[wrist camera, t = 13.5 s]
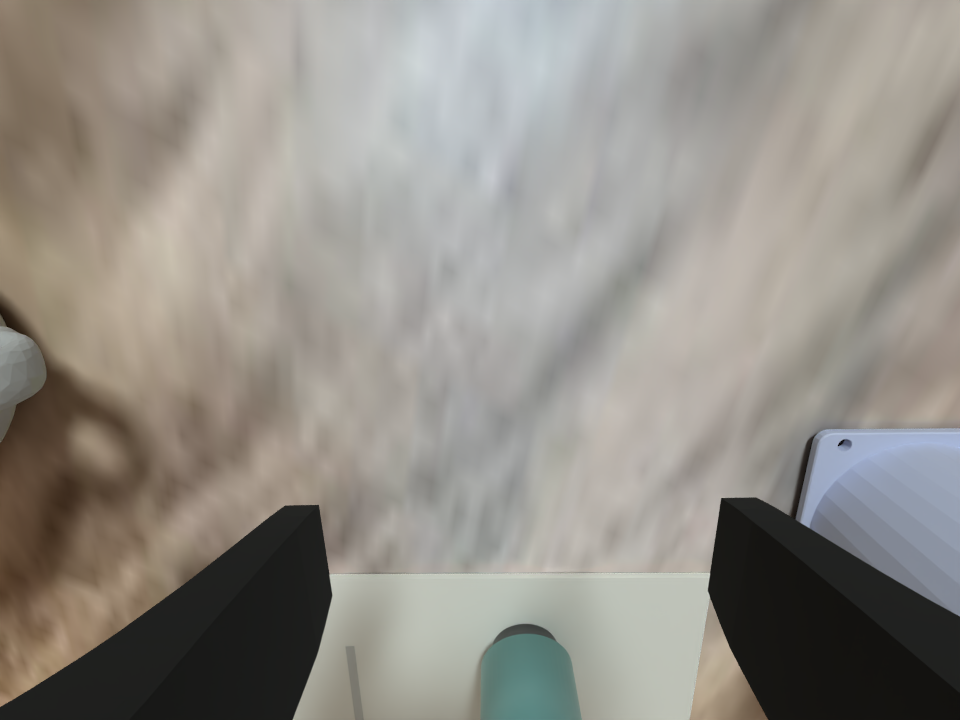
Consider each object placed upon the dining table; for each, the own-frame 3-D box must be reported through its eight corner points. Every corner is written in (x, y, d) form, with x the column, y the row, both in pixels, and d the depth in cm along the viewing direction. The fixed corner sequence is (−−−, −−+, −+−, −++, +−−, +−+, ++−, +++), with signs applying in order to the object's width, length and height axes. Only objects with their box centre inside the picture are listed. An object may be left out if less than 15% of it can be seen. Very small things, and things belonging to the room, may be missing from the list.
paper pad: (710, 572, 22) (713, 578, 22) (674, 789, 27) (677, 796, 26) (252, 574, 23) (249, 580, 22) (295, 787, 27) (292, 795, 27)
